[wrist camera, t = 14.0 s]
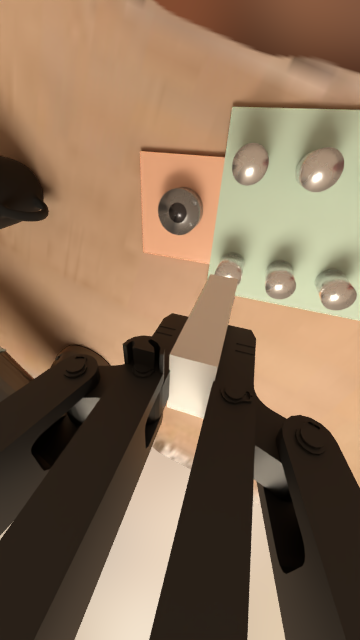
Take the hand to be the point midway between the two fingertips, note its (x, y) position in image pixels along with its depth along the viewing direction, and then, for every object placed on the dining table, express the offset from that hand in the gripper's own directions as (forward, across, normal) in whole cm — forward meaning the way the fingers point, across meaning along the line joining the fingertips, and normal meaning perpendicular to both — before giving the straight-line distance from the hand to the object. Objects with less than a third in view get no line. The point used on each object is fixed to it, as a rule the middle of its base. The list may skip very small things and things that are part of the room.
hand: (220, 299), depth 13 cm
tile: (+19, -9, +1) cm, 21 cm away
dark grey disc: (+19, -8, +1) cm, 20 cm away
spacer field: (+19, +8, +1) cm, 21 cm away
